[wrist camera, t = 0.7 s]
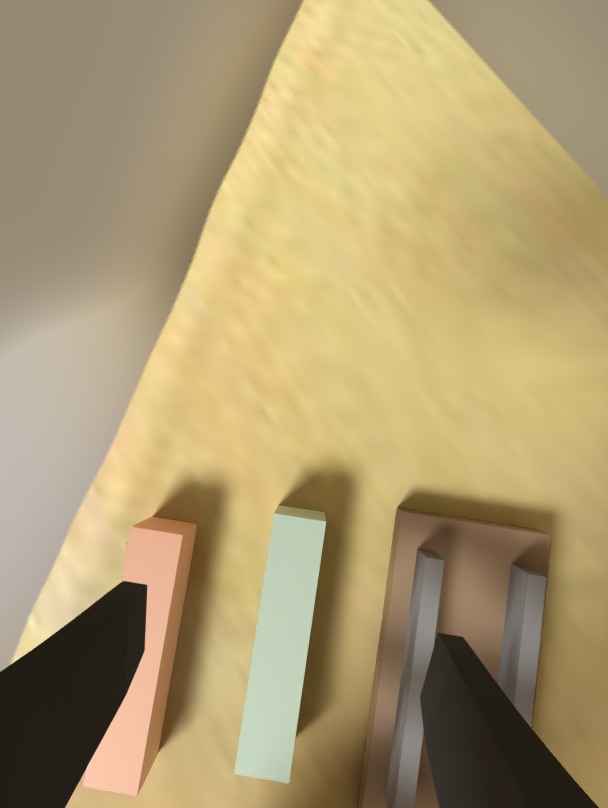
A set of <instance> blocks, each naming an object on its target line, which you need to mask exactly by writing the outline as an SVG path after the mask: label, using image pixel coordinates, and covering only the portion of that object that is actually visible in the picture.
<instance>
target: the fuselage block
mask: <svg viewBox="0 0 608 808" xmlns="http://www.w3.org/2000/svg"><path fill="white" fill-rule="evenodd" d="M325 527H326V517H325V512H321V511H314V510H308V509H301V508H295V507H289V506H282V505H278V507H277V509H276V511H275V513H274V517H273V524H272V530H271V537H270V543H269V550H268V556H267V563H266V569H265V576H264V582H263V589H262V595H261V602H260V608H259V615H258V621H257V628H256V634H255V641H254V648H253V654H252V661H251V667H250V674H249V680H248V687H247V693H246V700H245V706H244V713H243V719H242V726H241V732H240V739H239V745H238V752H237V758H236V765H235V771H234V774H237V775H243V776H249V777H254V778H260V779H266V780H271V781H277V782H283V783H288V784H289V779H290V772H291V765H292V758H293V751H294V744H295V737H296V730H297V723H298V716H299V709H300V702H301V695H302V688H303V681H304V674H305V667H306V660H307V653H308V646H309V639H310V632H311V625H312V618H313V611H314V604H315V597H316V590H317V583H318V576H319V569H320V562H321V555H322V548H323V541H324V534H325Z"/></svg>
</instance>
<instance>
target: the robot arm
mask: <svg viewBox="0 0 608 808" xmlns="http://www.w3.org/2000/svg"><path fill="white" fill-rule="evenodd" d="M146 609H147V585H146V584H140V583H134V582H128V581H123V582H121V583H120V584H118V585H117V586H116V587H114V588H113V589H112V590H111V591H109V592H108V593H107V594H105V595H104V596H103V597H102V598H100V599H99V600H98V601H96V602H95V603H94V604H93V605H91V606H90V607H89V608H88V609H86V610H85V611H84V612H82V613H81V614H80V615H78V616H77V617H76V618H75V619H73V620H72V621H71V622H69V623H68V624H67V625H65V626H64V627H63V628H61V629H60V630H59V631H57V632H56V633H55V634H53V635H52V636H51V637H49V638H48V639H47V640H45V641H44V642H43V643H41V644H40V645H38V646H37V647H36V648H34V649H33V650H31V651H30V652H28V653H27V654H26V655H24V656H23V657H21V658H20V659H18V660H17V661H15V662H14V663H13V664H11V665H10V666H8V667H7V668H6V669H4V670H3V671H1V672H0V808H65V806H66V805H67V803H68V801H69V799H70V797H71V795H72V794H73V792H74V790H75V788H76V786H77V785H78V783H79V781H80V779H81V777H82V775H83V774H84V772H85V770H86V768H87V766H88V764H89V763H90V761H91V759H92V757H93V755H94V753H95V752H96V750H97V748H98V746H99V744H100V743H101V741H102V739H103V737H104V735H105V733H106V732H107V730H108V728H109V726H110V724H111V722H112V720H113V719H114V717H115V715H116V713H117V711H118V709H119V708H120V706H121V704H122V702H123V700H124V698H125V696H126V694H127V692H128V689H129V687H130V685H131V683H132V680H133V678H134V676H135V673H136V671H137V668H138V666H139V663H140V661H141V659H142V656H143V654H144V651H145V632H146ZM420 703H421V712H422V720H423V729H424V736H425V744H426V750H427V754H428V759H429V764H430V768H431V772H432V777H433V781H434V786H435V790H436V795H437V799H438V803H439V808H599V807H598V806H597V805H596V804H595V803H594V802H593V801H592V800H591V799H590V797H589V796H588V795H587V794H586V793H585V792H584V791H583V789H582V788H581V787H580V786H579V785H578V784H577V783H576V782H575V780H574V779H573V778H572V777H571V776H570V774H569V773H568V772H567V771H566V770H565V768H564V767H563V766H562V765H561V764H560V763H559V761H558V760H557V759H556V758H555V757H554V755H553V754H552V753H551V752H550V751H549V749H548V748H547V747H546V746H545V744H544V743H543V742H542V741H541V740H540V738H539V737H538V736H537V735H536V733H535V732H534V731H533V730H532V728H531V727H530V726H529V724H528V723H527V722H526V721H525V719H524V718H523V717H522V715H521V714H520V713H519V712H518V710H517V709H516V708H515V706H514V705H513V704H512V702H511V701H510V700H509V698H508V697H507V696H506V694H505V693H504V692H503V690H502V689H501V688H500V686H499V685H498V684H497V682H496V681H495V680H494V678H493V677H492V676H491V674H490V673H489V672H488V670H487V669H486V667H485V666H484V665H483V663H482V662H481V661H480V659H479V658H478V656H477V655H476V654H475V652H474V651H473V650H472V648H471V647H470V645H469V644H468V643H467V641H466V640H465V639H464V637H461V636H455V635H449V634H443V633H438V634H437V637H436V641H435V645H434V648H433V652H432V655H431V659H430V663H429V666H428V670H427V673H426V677H425V681H424V684H423V688H422V691H421V695H420Z"/></svg>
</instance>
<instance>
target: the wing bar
mask: <svg viewBox="0 0 608 808" xmlns="http://www.w3.org/2000/svg"><path fill="white" fill-rule="evenodd" d="M197 526H198V524H195V523H189V522H183V521H177V520H171V519H165V518H159V517H153V516H152V517H150V518H148V519H146V520H144V521H142V522H140V523H138V524H136V525H134V526H132V527H131V531H130V536H129V541H128V547H127V552H126V558H125V563H124V568H123V574H122V579H121V582H123V581H128V582H134V583H140V584H146V585H147V609H146V632H145V651H144V654H143V656H142V659H141V661H140V663H139V666H138V668H137V671H136V673H135V676H134V678H133V680H132V683H131V685H130V687H129V689H128V692H127V694H126V696H125V698H124V700H123V702H122V704H121V706H120V708H119V709H118V711H117V713H116V715H115V717H114V719H113V720H112V722H111V724H110V726H109V728H108V730H107V732H106V733H105V735H104V737H103V739H102V741H101V743H100V744H99V746H98V748H97V750H96V752H95V753H94V755H93V757H92V759H91V761H90V763H89V764H88V766H87V768H86V773H85V779H84V784H83V787H89V788H94V789H100V790H105V791H111V792H116V793H122V794H127V795H133V796H137V795H138V793H139V791H140V789H141V787H142V785H143V783H144V781H145V779H146V777H147V775H148V773H149V771H150V769H151V767H152V764H153V762H154V760H155V758H156V756H157V754H158V752H159V746H160V740H161V734H162V728H163V723H164V717H165V711H166V705H167V699H168V694H169V688H170V682H171V676H172V671H173V665H174V659H175V653H176V647H177V642H178V636H179V630H180V624H181V618H182V613H183V607H184V601H185V595H186V590H187V584H188V578H189V572H190V566H191V561H192V555H193V549H194V543H195V537H196V532H197Z"/></svg>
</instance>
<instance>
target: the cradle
mask: <svg viewBox="0 0 608 808" xmlns="http://www.w3.org/2000/svg"><path fill="white" fill-rule="evenodd" d="M551 538H552V535H549V534H547V533H544V532H542V531H539V530H534V529H527V528H521V527H515V526H508V525H502V524H496V523H490V522H483V521H477V520H471V519H464V518H458V517H452V516H445V515H439V514H433V513H427V512H420V511H414V510H408V509H401V508H397V511H396V518H395V526H394V533H393V541H392V548H391V556H390V563H389V571H388V578H387V586H386V593H385V601H384V608H383V616H382V623H381V631H380V639H379V646H378V654H377V661H376V669H375V676H374V684H373V691H372V699H371V706H370V714H369V721H368V729H367V736H366V744H365V751H364V759H363V766H362V774H361V781H360V789H359V796H358V804H357V808H439V803H438V799H437V795H436V790H435V786H434V781H433V777H432V772H431V768H430V764H429V759H428V754H427V750H426V744H425V736H424V729H423V720H422V712H421V703H420V695H421V691H422V688H423V684H424V681H425V677H426V673H427V670H428V666H429V663H430V659H431V655H432V652H433V648H434V645H435V641H436V637H437V634H438V633H443V634H449V635H455V636H461V637H464V639H465V640H466V641H467V643H468V644H469V645H470V647H471V648H472V650H473V651H474V652H475V654H476V655H477V656H478V658H479V659H480V661H481V662H482V663H483V665H484V666H485V667H486V669H487V670H488V672H489V673H490V674H491V676H492V677H493V678H494V680H495V681H496V682H497V684H498V685H499V686H500V688H501V689H502V690H503V692H504V693H505V694H506V696H507V697H508V698H509V700H510V701H511V702H512V704H513V705H514V706H515V708H516V709H517V710H518V712H519V713H520V714H521V715H522V717H523V718H524V719H525V721H526V722H527V723H528V724H529V726H530V727H531V728H532V724H533V714H534V704H535V695H536V685H537V675H538V665H539V655H540V646H541V636H542V626H543V616H544V607H545V597H546V587H547V577H548V567H549V558H550V548H551Z"/></svg>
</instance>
